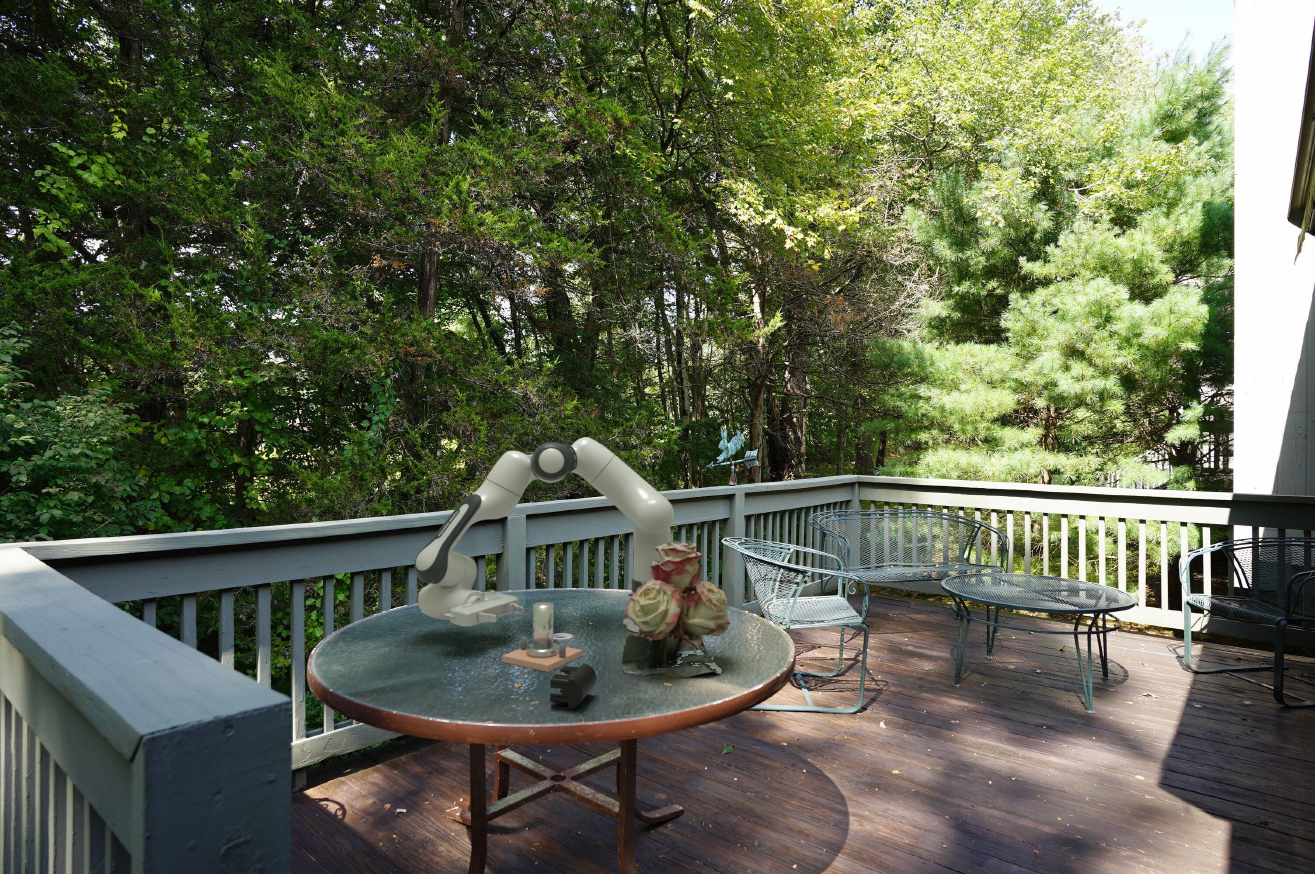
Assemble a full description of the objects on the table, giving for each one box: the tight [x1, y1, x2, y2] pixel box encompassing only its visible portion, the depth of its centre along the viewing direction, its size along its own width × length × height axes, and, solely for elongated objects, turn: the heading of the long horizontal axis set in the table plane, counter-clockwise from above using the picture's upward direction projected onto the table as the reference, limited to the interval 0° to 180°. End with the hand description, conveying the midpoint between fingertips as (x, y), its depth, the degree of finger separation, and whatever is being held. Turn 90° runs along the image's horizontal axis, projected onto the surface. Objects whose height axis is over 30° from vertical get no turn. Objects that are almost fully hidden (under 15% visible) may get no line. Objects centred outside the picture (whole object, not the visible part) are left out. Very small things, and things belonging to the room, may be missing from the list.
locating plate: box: [501, 635, 583, 673], centre depth 177 cm, size 14×14×4 cm
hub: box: [526, 601, 559, 658], centre depth 177 cm, size 8×8×12 cm
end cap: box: [549, 663, 597, 711], centre depth 150 cm, size 10×7×7 cm
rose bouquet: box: [621, 540, 731, 678], centre depth 176 cm, size 26×29×30 cm
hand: (509, 614), depth 183 cm, fingers open, 8 cm apart
